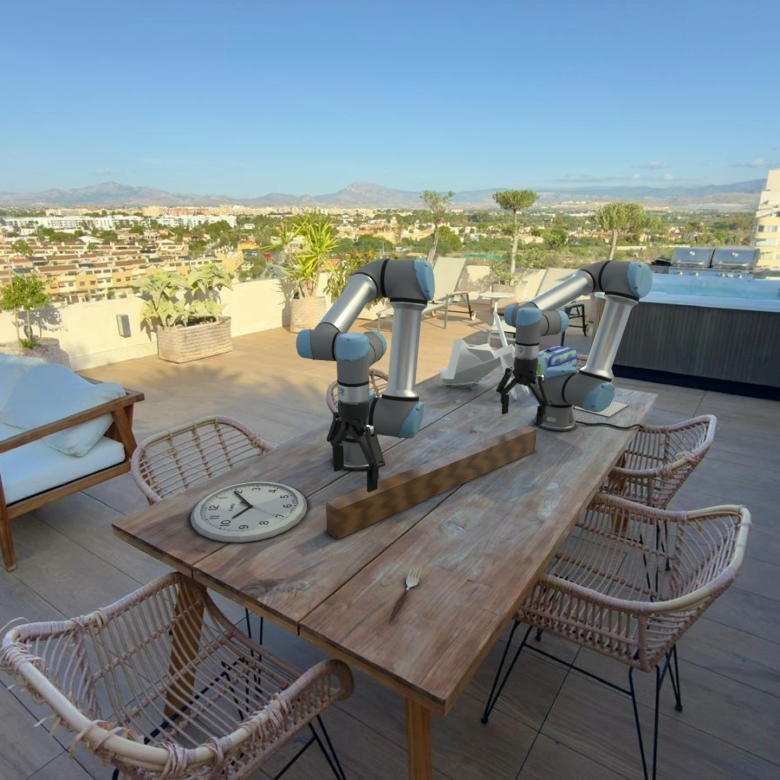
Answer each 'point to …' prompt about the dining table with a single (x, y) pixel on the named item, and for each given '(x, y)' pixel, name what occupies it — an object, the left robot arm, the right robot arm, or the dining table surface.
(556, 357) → the lunch box
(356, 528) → the beam
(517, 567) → the dining table surface
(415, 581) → the fork
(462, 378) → the white plastic object
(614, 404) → the invitation card
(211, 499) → the wall clock
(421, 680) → the dining table surface
